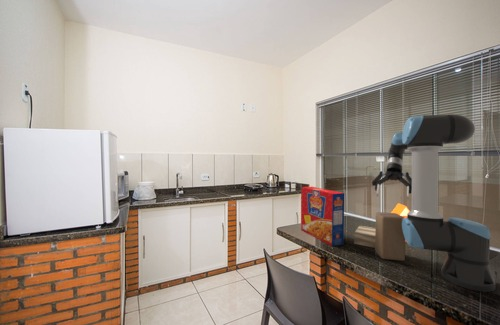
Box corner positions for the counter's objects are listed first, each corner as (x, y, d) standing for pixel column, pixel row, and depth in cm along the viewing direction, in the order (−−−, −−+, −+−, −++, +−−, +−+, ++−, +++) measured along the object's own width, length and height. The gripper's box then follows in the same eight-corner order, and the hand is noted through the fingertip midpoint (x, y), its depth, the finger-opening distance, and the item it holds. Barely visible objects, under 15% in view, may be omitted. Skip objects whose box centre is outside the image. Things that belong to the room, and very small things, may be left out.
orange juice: (404, 236, 136) (405, 203, 135) (413, 242, 127) (414, 206, 127) (390, 236, 137) (391, 203, 136) (398, 241, 128) (399, 206, 127)
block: (405, 261, 103) (406, 218, 103) (381, 259, 105) (382, 216, 105) (396, 252, 113) (397, 212, 112) (374, 250, 115) (375, 211, 114)
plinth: (383, 249, 116) (383, 238, 116) (353, 243, 125) (354, 232, 124) (386, 240, 130) (386, 229, 129) (359, 235, 138) (359, 225, 137)
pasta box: (301, 230, 146) (301, 187, 146) (311, 228, 149) (312, 186, 149) (331, 246, 120) (332, 193, 120) (343, 244, 123) (344, 193, 123)
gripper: (421, 172, 127) (421, 203, 115) (371, 170, 142) (366, 197, 130) (421, 162, 123) (421, 194, 111) (369, 161, 137) (365, 189, 125)
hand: (392, 196), depth 120 cm, fingers open, 13 cm apart
